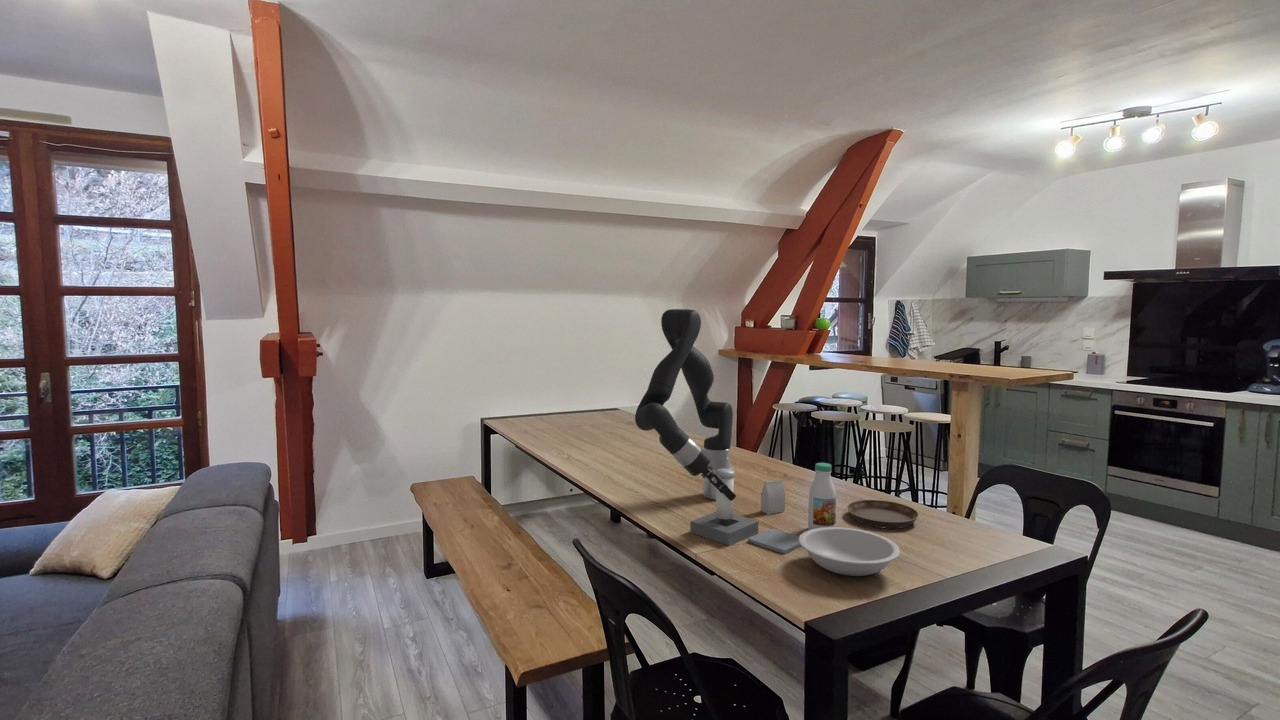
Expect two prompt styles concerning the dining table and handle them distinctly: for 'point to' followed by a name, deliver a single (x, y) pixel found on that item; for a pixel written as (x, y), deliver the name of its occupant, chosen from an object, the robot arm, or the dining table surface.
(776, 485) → the white paper packet
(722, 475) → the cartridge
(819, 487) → the milk bottle
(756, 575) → the dining table surface
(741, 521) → the housing
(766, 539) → the mat
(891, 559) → the soup bowl
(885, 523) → the plant saucer
